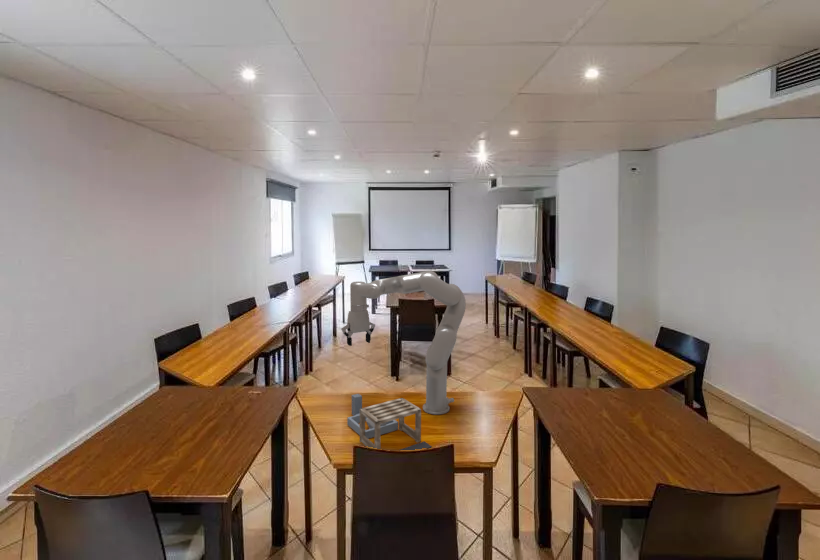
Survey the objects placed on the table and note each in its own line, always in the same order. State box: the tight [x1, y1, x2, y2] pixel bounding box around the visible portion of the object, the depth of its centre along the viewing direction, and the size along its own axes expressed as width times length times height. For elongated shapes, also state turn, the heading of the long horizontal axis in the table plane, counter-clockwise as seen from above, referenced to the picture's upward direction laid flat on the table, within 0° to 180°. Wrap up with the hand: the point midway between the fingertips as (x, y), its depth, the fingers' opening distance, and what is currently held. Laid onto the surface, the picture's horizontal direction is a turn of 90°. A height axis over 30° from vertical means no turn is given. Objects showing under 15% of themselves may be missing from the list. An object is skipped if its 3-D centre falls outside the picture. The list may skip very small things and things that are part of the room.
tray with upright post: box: [346, 393, 399, 440], centre depth 183 cm, size 16×24×9 cm, turn 34°
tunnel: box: [359, 397, 422, 449], centre depth 168 cm, size 20×14×14 cm
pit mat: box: [399, 441, 433, 450], centre depth 163 cm, size 12×5×1 cm, turn 124°
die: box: [365, 410, 387, 430], centre depth 178 cm, size 8×9×10 cm
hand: (358, 343), depth 199 cm, fingers open, 9 cm apart
